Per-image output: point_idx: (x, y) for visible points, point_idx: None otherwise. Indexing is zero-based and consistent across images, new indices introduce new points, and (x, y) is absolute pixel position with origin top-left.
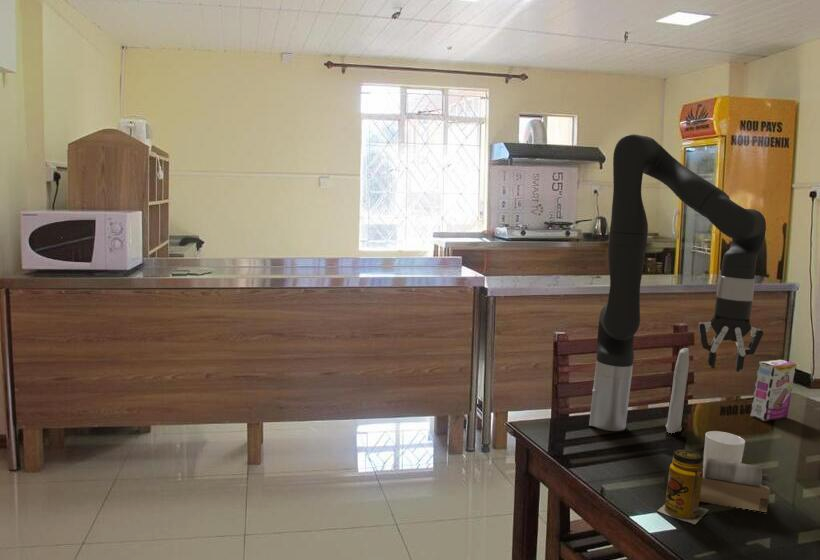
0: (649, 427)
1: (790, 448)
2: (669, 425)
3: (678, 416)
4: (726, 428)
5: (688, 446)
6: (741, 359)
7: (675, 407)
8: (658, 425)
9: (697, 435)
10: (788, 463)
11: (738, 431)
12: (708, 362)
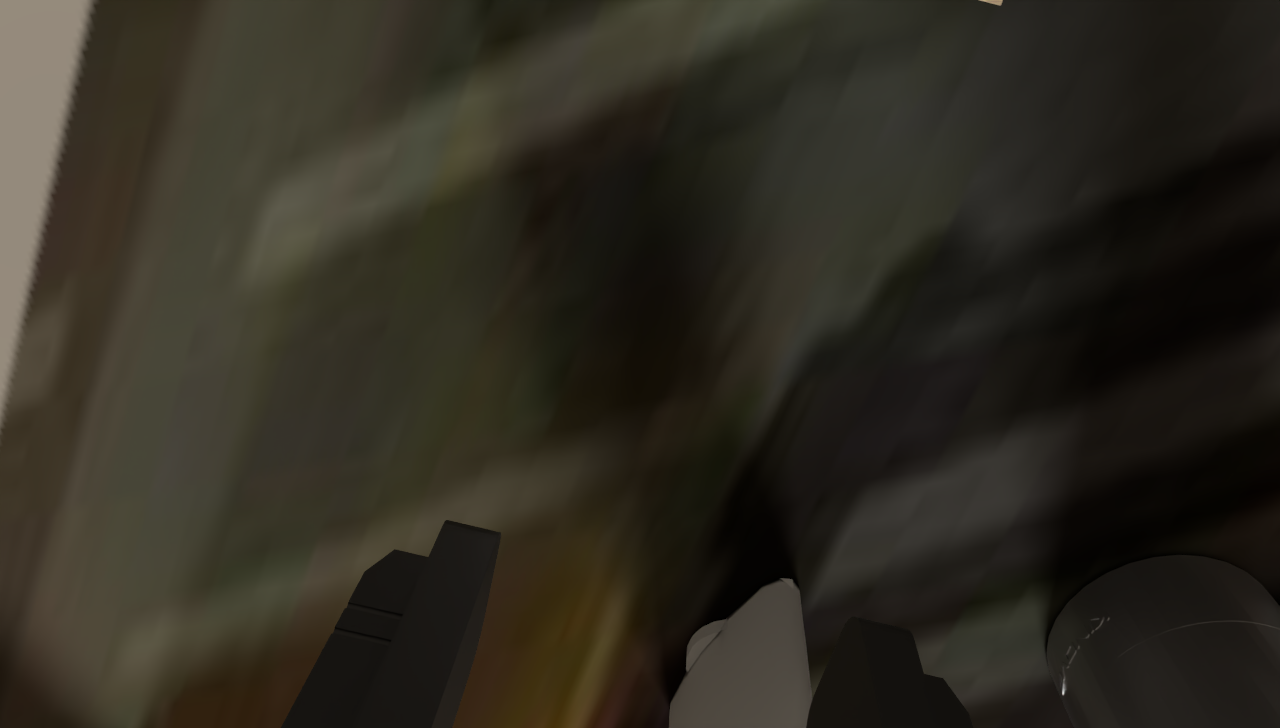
0: None
1: (111, 490)
2: (801, 618)
3: (743, 675)
4: None
5: (752, 407)
6: (352, 705)
7: (788, 709)
8: None
9: (618, 583)
10: (183, 254)
11: None
12: (969, 725)
